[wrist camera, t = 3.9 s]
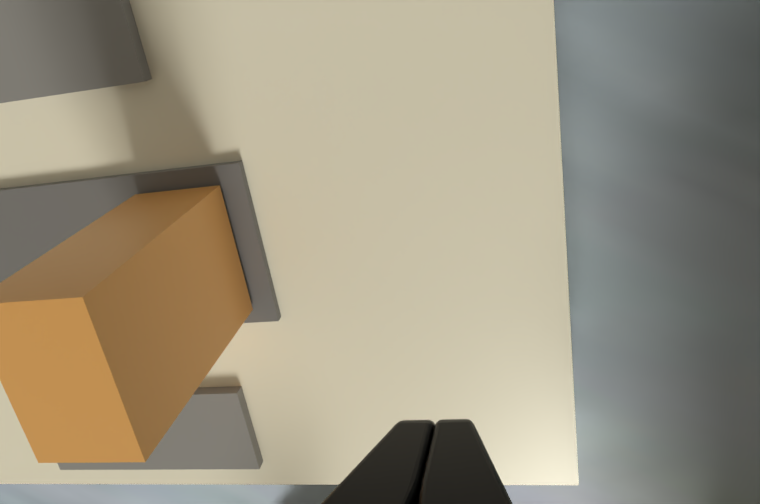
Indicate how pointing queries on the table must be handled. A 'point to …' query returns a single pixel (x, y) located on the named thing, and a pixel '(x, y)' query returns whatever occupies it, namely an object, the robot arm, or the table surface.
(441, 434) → the robot arm
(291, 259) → the breaker board
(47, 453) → the switch
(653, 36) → the table surface
